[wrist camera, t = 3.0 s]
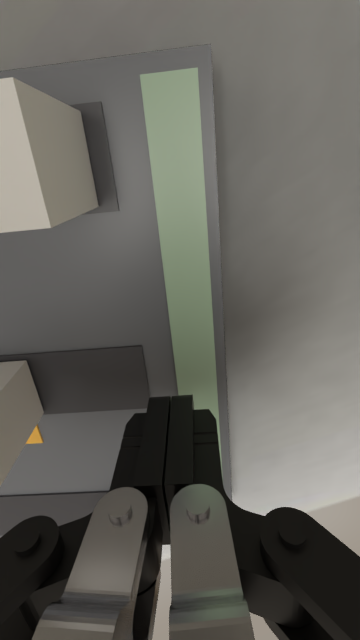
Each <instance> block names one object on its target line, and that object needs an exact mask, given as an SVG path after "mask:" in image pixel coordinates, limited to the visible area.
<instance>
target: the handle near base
mask: <svg viewBox="0 0 360 640" xmlns="http://www.w3.org/2000/svg"><path fill="white" fill-rule="evenodd" d="M97 207H99V206H98V201H97V195H96V190H95V185H94V180H93V174H92V169H91V164H90V158H89V153H88V148H87V143H86V137H85V132H84V127H83V122H82V116H81V111H79V110H77V109H75V108H73V107H71V106H69V105H67V104H65V103H63V102H61V101H59V100H57V99H55V98H53V97H51V96H49V95H47V94H45V93H43V92H41V91H39V90H37V89H35V88H33V87H31V86H29V85H27V84H25V83H23V82H21V81H19V80H17V79H15V78H13V77H10V78H2V79H0V233H4V232H15V231H25V230H35V229H46V228H52V227H54V226H56V225H59V224H61V223H63V222H66V221H68V220H70V219H72V218H75V217H77V216H79V215H81V214H84V213H86V212H88V211H90V210H93V209H95V208H97Z"/></svg>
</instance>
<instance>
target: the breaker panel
mask: <svg viewBox="0 0 360 640" xmlns="http://www.w3.org/2000/svg"><path fill="white" fill-rule="evenodd" d="M10 77H13V78H15V79H17V80H19V81H21V82H23V83H25V84H27V85H29V86H31V87H33V88H35V89H37V90H39V91H41V92H43V93H45V94H47V95H49V96H51V97H53V98H55V99H57V100H59V101H61V102H63V103H65V104H67V105H69V106H71V107H73V108H75V109H77V110H79V111H81V116H82V122H83V127H84V132H85V137H86V143H87V148H88V153H89V158H90V164H91V169H92V174H93V180H94V185H95V190H96V195H97V201H98V206H99V207H97V208H95V209H93V210H90V211H88V212H86V213H84V214H81V215H79V216H77V217H75V218H72V219H70V220H68V221H66V222H63V223H61V224H59V225H56V226H54V227H52V228H46V229H35V230H25V231H15V232H4V233H0V362H11V361H25V360H26V361H27V364H28V367H29V369H30V372H31V375H32V378H33V381H34V384H35V387H36V390H37V393H38V396H39V399H40V402H41V405H42V408H43V411H44V413H43V415H42V417H41V418H40V420H39V422H38V424H37V425H36V427H35V429H34V430H33V432H32V434H31V435H30V437H29V439H28V440H27V442H26V444H25V446H24V447H23V449H22V451H21V452H20V454H19V456H18V457H17V459H16V461H15V462H14V464H13V466H12V468H11V469H10V471H9V473H8V474H7V476H6V478H5V479H4V481H3V483H2V484H1V486H0V538H1V537H2V536H3V535H5V534H6V533H7V532H8V531H9V530H11V529H12V528H13V527H14V526H16V525H17V524H18V523H20V522H22V521H23V520H25V519H28V518H30V517H34V516H39V515H41V516H48V517H50V518H52V519H53V520H55V522H56V523H57V525H58V526H60V525H63V524H66V523H69V522H72V521H75V520H77V519H80V518H83V517H85V516H87V515H89V514H90V513H92V512H93V510H94V508H95V506H96V504H97V503H98V501H99V500H100V499H101V498H102V497H103V496H104V495H106V494H107V493H108V492H109V490H110V486H111V482H112V478H113V474H114V470H115V466H116V462H117V458H118V454H119V450H120V446H121V442H122V439H123V434H124V430H125V426H126V424H127V422H128V421H129V420H130V419H131V417H132V416H133V415H134V414H135V413H146V412H147V406H148V401H149V398H150V397H163V396H171V398H172V396H178V395H193V401H194V410H198V409H209V410H210V411H211V413H212V414H213V415H214V417H215V418H216V422H217V432H218V441H219V451H220V460H221V470H222V479H223V486H224V490H225V493H226V494H227V496H228V497H229V499H230V500H231V501H232V488H231V467H230V445H229V423H228V401H227V380H226V358H225V336H224V314H223V292H222V271H221V249H220V227H219V205H218V184H217V162H216V140H215V118H214V97H213V75H212V53H211V44H205V45H198V46H190V47H182V48H175V49H167V50H159V51H152V52H144V53H136V54H129V55H121V56H113V57H106V58H98V59H90V60H83V61H75V62H67V63H59V64H52V65H44V66H36V67H29V68H21V69H13V70H6V71H0V79H2V78H10Z"/></svg>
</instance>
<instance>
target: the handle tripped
mask: <svg viewBox="0 0 360 640" xmlns="http://www.w3.org/2000/svg"><path fill="white" fill-rule="evenodd" d="M43 413H44V411H43V408H42V405H41V402H40V399H39V396H38V393H37V390H36V387H35V384H34V381H33V378H32V375H31V372H30V369H29V367H28V364H27V361H26V360H25V361H11V362H0V486H1V484H2V483H3V481H4V479H5V478H6V476H7V474H8V473H9V471H10V469H11V468H12V466H13V464H14V462H15V461H16V459H17V457H18V456H19V454H20V452H21V451H22V449H23V447H24V446H25V444H26V442H27V440H28V439H29V437H30V435H31V434H32V432H33V430H34V429H35V427H36V425H37V424H38V422H39V420H40V418H41V417H42V415H43Z"/></svg>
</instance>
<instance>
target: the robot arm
mask: <svg viewBox="0 0 360 640" xmlns="http://www.w3.org/2000/svg"><path fill="white" fill-rule="evenodd" d="M168 544H171V586H172V587H171V589H172V602H171V606H170V612H169V640H255V638H254V633H253V628H252V623H251V618H250V613H249V612H251V613H253V614H256V615H258V616H261V617H263V618H264V620H265V622H266V623H267V625H268V626H269V628H270V629H271V630H272V631H273V633H274V634H275V635H276V636H277V637H278V639H279V640H360V557H359V556H358V555H357V554H356V553H355V552H353V551H352V550H351V549H349V548H348V547H347V546H346V545H345V544H343V543H342V542H341V541H340V540H339V539H337V538H336V537H335V536H334V535H332V534H331V533H330V532H329V531H328V530H326V529H325V528H324V527H323V526H321V525H320V524H319V523H318V522H316V521H315V520H314V519H313V518H312V517H310V516H309V515H308V514H306V513H304V512H302V511H300V510H298V509H295V508H290V507H281V508H277V509H274V510H272V511H270V512H269V513H267V515H266V516H262V515H259V514H255V513H252V512H249V511H246V510H243V509H241V508H240V507H238V506H237V505H235V504H234V503H233V502H232V501H231V500H230V499H229V497H228V496H227V494H226V493H225V490H224V486H223V479H222V470H221V460H220V451H219V441H218V432H217V422H216V418H215V417H214V415H213V414H212V413H211V411H210V410H209V409H198V410H194V401H193V395H178V396H172V398H171V396H163V397H150V398H149V401H148V406H147V412H146V413H135V414H134V415H133V416H132V417H131V419H130V420H129V421H128V422H127V424H126V426H125V430H124V434H123V439H122V442H121V446H120V450H119V454H118V458H117V462H116V466H115V470H114V474H113V478H112V482H111V486H110V490H109V492H108V493H107V494H106V495H104V496H103V497H102V498H101V499H100V500H99V501H98V503H97V504H96V506H95V508H94V510H93V512H92V513H90V514H89V515H87V516H85V517H83V518H80V519H77V520H75V521H72V522H69V523H66V524H63V525H60V526H58V525H57V523H56V522H55V520H53V519H52V518H50V517H48V516H41V515H39V516H34V517H30V518H28V519H25V520H23V521H22V522H20V523H18V524H17V525H16V526H14V527H13V528H12V529H11V530H9V531H8V532H7V533H6V534H5V535H3V536H2V537H1V538H0V640H152V636H153V629H154V622H155V614H156V608H157V601H158V593H159V586H160V578H161V571H160V566H161V554H162V545H168Z"/></svg>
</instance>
